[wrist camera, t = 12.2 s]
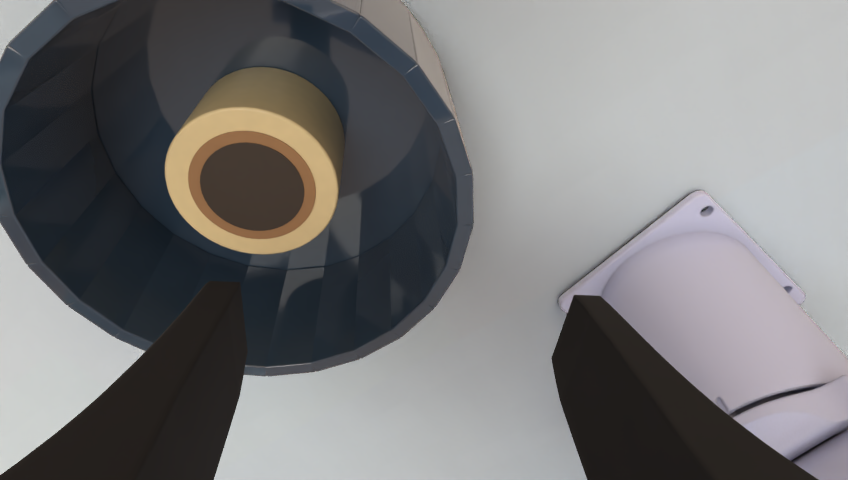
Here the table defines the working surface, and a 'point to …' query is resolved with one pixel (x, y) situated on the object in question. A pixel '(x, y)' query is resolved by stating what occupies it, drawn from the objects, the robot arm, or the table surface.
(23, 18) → the table surface
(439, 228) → the dark round bowl
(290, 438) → the table surface
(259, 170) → the tape roll
